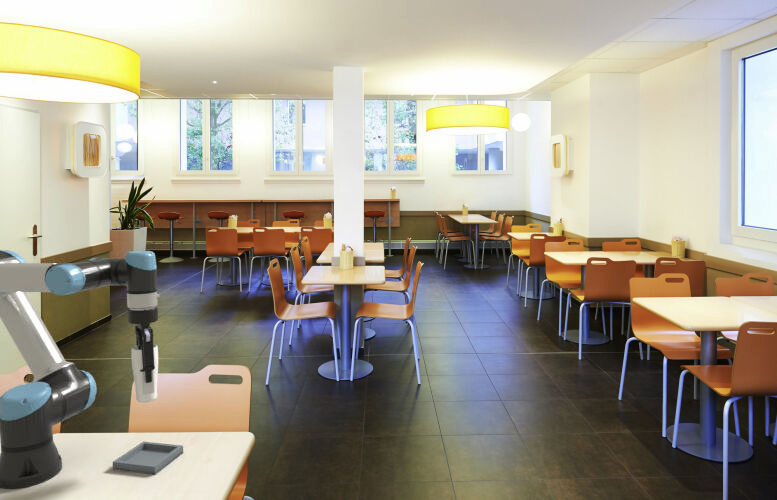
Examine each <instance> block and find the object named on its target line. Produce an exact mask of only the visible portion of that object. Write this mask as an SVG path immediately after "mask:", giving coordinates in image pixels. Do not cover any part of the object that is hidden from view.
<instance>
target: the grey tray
mask: <svg viewBox="0 0 777 500" xmlns="http://www.w3.org/2000/svg"><path fill="white" fill-rule="evenodd" d="M183 454H184V445H181V444H173V443H172V444H170V443H162V442H153V441H141V443H139V444H137V445H136V446H134V447H133V448H131V449H130V450H128V451H126V452H125V453H124V454H123V455H121V456H119V457H118V458H116V459H115V460H113V461H112V470H114V471H121V472H130V473H138V474H139V473H140V474H146V475H157V474H159V472H161V471H162V470H163V469H164V468H166V467H167V466H169V465H170V464H171V463H172V462H175V460H176V459H178V458H179V457H180V456H182V455H183Z"/></svg>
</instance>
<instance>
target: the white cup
mask: <svg viewBox="0 0 777 500" xmlns="http://www.w3.org/2000/svg"><path fill="white" fill-rule="evenodd" d="M158 347H159V346H158V345H157V344H155V343H153V349H154V366H155V369H153V376H154V393H151V394H145V395H143V381H142V372H140V370H141V369H143V364H142V350H138V345H137V346H136V345H134V346H132V347H131V350H130V351H131V352H130V353H131V355H130V357H131V358H130V359H131V366H132V367H131V368H132V374H133V381H134V382H133V383H134V388H135V398H136V401H137V402H139V403H150V402H153V401H155V400H156V399H157V398H158V375H159V348H158ZM149 366H150V365H149Z"/></svg>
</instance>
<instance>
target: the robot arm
mask: <svg viewBox="0 0 777 500" xmlns="http://www.w3.org/2000/svg"><path fill="white" fill-rule="evenodd" d="M155 254H156V253H155V252H153V251H151V250H134V251H133V250H132V251H127V252H126V253H125V258H118V257H117V258H116V257H115V258H113V257H106V256H105V257H104V256H103V257H92V258H90V259H88V260H86V261H81V262H78V261H77V262H64V263H63V262H58V263H55V262H54V263H53V262H46V263H45V262H30V263H29V262H26V260H25V259H24V258H23V257H22V256H21V255H20V254H19V253H17V252H15V251H11V250H5V249H4V250H3V249H2V250H1V249H0V320H1V321H2V324H3V325H4V327H5V329H6V330H7V332H8V334H9V336H10V337H11V339H12V341H13V342H14V344H15V346H16V348H17V349H18V352H19V353H20V354H21V356H22V358H23V359H24V362H25V363H26V364H27V366H28V368H29V370H30V372H31V374H32V376H33V380H32V381H31V382H27V383H24V384H19V385H16V386H13V387H12V388H9V389H8V390H6V391H4V393H3V394H1V395H0V488H3V489H20V488H21V489H22V488H26V487H30V486H34V485H39V484H40V483H43V482H46V481H48V480H50V479H51V478H53V477H55V476H57V475H58V474H59V473H60V472H61V471H62V469H63V460H62V456H61V454H60V453H59V450H58V448H57V446H56V444H55V442H54V437H53V436H54V432H53V430H54V429H53V427H54V426H55V425H58V424H59V423H62V422H63V421H65V420H68V419H70V418H72V417H73V416H77V415H79V414H81V413H82V412H83V411H84V410H86V409H88V408H89V407H91V406H92V404H93V403H94V401H95V399H96V395H97V392H98V391H97V390H98V389H97V383H96V381H95V378H94V377H93V375H92V374H91V373H90V372H88V371H85V370H81V369H79V370H78V367H77V366H76V364H75V363H74V362H70V361H66V358H64V356H63V354H62V352H61V350H60V349H59V347H58V345H57V343H56V342H55V340H54V339H53V337H52V335H51V334H50V332H49V329H47V328H48V327H46V325H45V322H44V321H43V320H42V318H41V316H40V314H39V313H38V311H37V309H36V307H35V306H34V304H33V302H32V300H31V299H30V297H29V296H28V293H53V294H54V295H55V296H66V295H67V296H68V295H69V296H71V295H74V294H76V293H81V292H84V291H89V290H95V289H100V288H105V287H108V286H109V287H110V286H125V287H126V301H127V306H126V307H127V308H128V310H127V319H128V323H129V324H131V325H135V327H134V332H135V333H134V334H135V342H136V343H135V344H136V345H135V346H137V345H138V350H142V364H143V369H141V370H140V372H142V381H143V395H145V394H151V393H154V376H153V369H155V366H154V349H153V344H154V332H153V331H154V330H153V328H152V327H151V324H152V323H155V322H157V321H158V320H159V309H158V298H160V294H159V293H158V288H157V286H158V285H157V267H158V266H157V260H156V255H155ZM149 365H150V366H149Z"/></svg>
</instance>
